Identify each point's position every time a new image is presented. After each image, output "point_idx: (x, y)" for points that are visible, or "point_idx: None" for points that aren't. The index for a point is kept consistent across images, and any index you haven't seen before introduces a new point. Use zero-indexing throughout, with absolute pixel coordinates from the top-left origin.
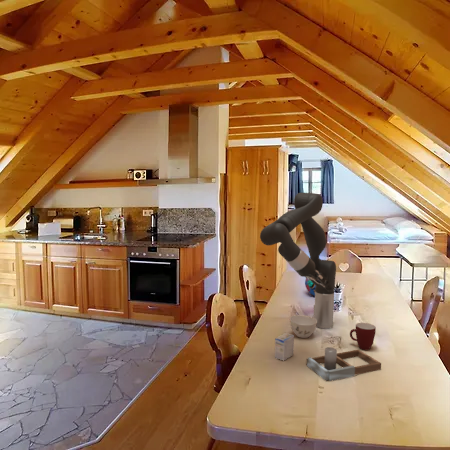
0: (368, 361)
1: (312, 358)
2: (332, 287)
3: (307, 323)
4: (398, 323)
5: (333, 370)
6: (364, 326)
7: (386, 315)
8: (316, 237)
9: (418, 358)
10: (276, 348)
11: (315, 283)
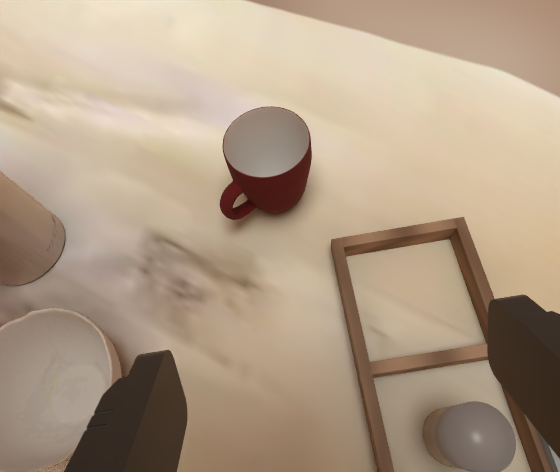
0: (405, 243)
1: None
2: (532, 303)
3: (28, 344)
4: (126, 9)
5: None
6: (233, 139)
7: (54, 10)
8: None
9: (385, 80)
10: None
11: (171, 457)
